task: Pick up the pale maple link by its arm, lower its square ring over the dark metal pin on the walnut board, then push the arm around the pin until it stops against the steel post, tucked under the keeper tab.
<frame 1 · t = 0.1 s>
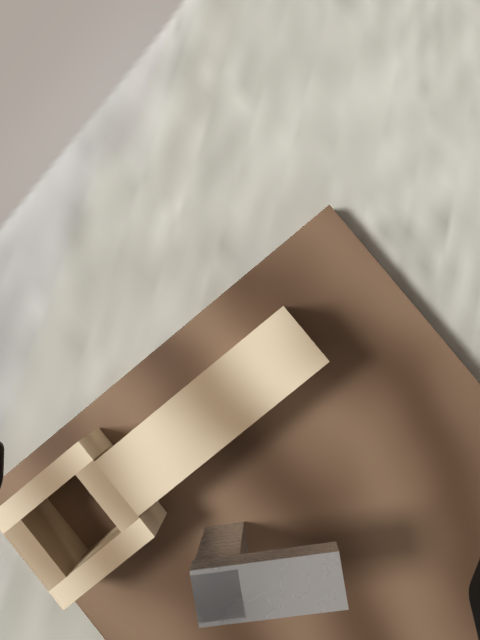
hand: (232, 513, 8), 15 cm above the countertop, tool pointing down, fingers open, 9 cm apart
base board: (314, 542, 24), on the countertop
keeper: (229, 533, 24), resting on base board
link: (225, 394, 23), point 1 cm above the countertop, touching base board
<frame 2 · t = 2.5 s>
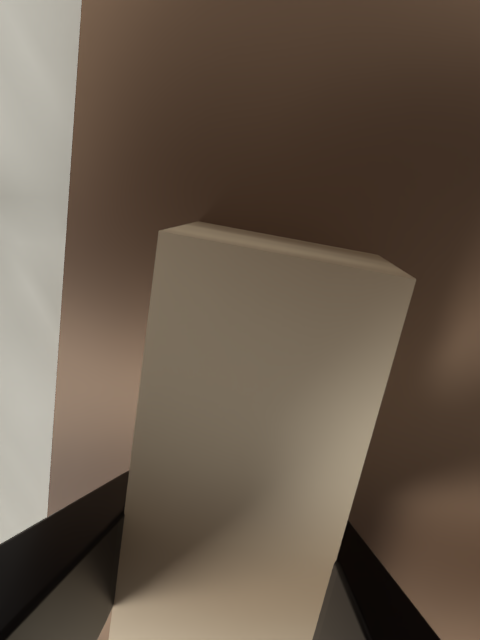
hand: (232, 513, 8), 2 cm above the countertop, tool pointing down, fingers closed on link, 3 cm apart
link: (238, 480, 9), point 1 cm above the countertop, touching base board, gripper
when the fingers open (3 cm above the countertop, at t = 6.9 s): link stays where it is, resting on base board.
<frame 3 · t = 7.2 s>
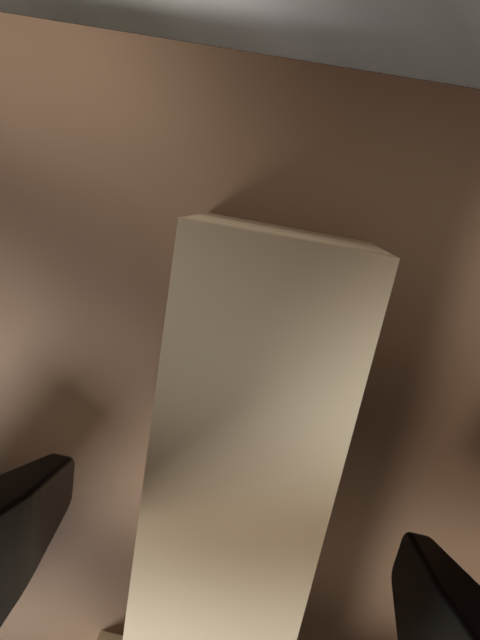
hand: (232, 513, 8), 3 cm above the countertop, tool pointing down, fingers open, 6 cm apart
base board: (11, 498, 12), on the countertop
link: (244, 449, 10), point 1 cm above the countertop, touching base board
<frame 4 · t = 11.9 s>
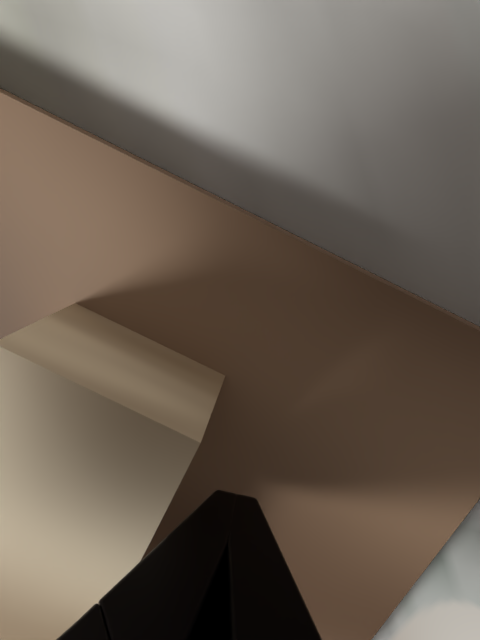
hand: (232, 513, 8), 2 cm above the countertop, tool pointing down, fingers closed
link: (67, 530, 10), point 1 cm above the countertop, touching gripper
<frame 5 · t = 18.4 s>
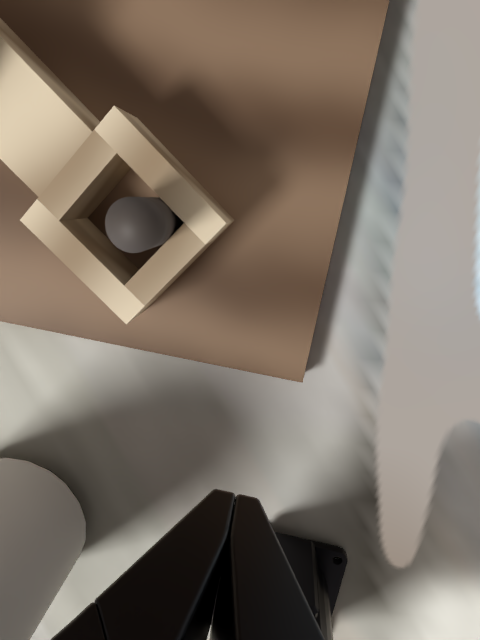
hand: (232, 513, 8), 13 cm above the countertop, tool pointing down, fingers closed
base board: (51, 60, 19), on the countertop
can: (30, 506, 25), on the countertop
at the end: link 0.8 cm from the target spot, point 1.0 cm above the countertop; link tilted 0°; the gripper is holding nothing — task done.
